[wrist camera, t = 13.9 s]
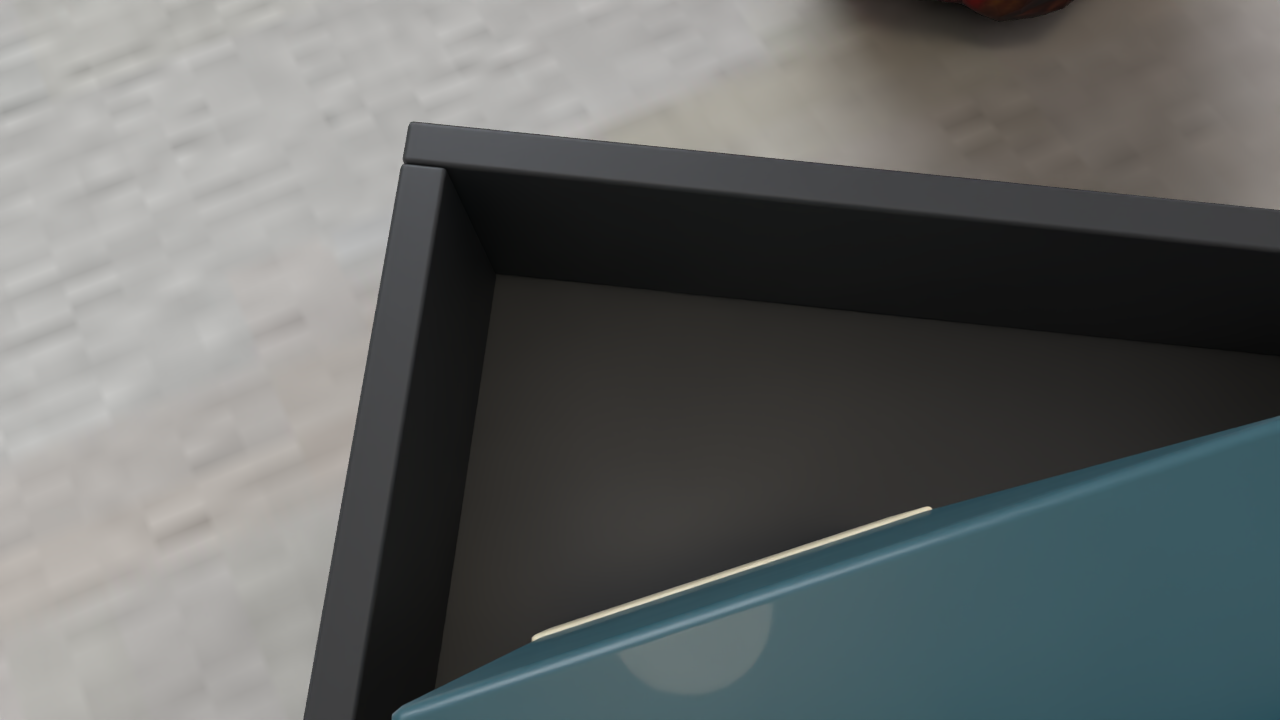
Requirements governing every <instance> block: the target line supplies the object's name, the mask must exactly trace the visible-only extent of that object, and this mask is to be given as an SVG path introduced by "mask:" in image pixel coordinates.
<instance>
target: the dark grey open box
mask: <svg viewBox="0 0 1280 720" xmlns="http://www.w3.org/2000/svg"><path fill="white" fill-rule="evenodd" d="M403 162H404V164H403V165H402V166H401V169H400V175H399V181H398V186H397V192H396V198H395V203H394V209H393V215H392V220H391V226H390V232H389V237H388V243H387V249H386V254H385V260H384V266H383V271H382V277H381V283H380V288H379V294H378V300H377V305H376V311H375V317H374V322H373V328H372V334H371V339H370V345H369V351H368V356H367V362H366V368H365V373H364V379H363V385H362V390H361V396H360V402H359V407H358V413H357V419H356V424H355V430H354V436H353V441H352V447H351V453H350V458H349V464H348V470H347V475H346V481H345V487H344V492H343V498H342V504H341V509H340V515H339V521H338V526H337V532H336V538H335V543H334V549H333V555H332V560H331V566H330V572H329V577H328V583H327V589H326V594H325V600H324V606H323V611H322V617H321V623H320V628H319V634H318V640H317V645H316V651H315V657H314V662H313V668H312V674H311V679H310V685H309V691H308V696H307V702H306V708H305V713H304V719H303V720H392V714H393V713H394V712H395V711H397V710H398V709H399V708H400V707H401V706H402V705H404V704H407V703H409V702H411V701H413V700H415V699H417V698H419V697H421V696H423V695H425V694H427V693H429V692H431V691H433V690H435V689H437V688H439V687H441V686H443V685H445V684H447V683H449V682H451V681H453V680H455V679H457V678H459V677H461V676H463V675H465V674H467V673H470V672H472V671H474V670H476V669H478V668H480V667H482V666H484V665H486V664H488V663H490V662H492V661H494V660H496V659H498V658H500V657H502V656H504V655H506V654H508V653H510V652H512V651H514V650H516V649H518V648H520V647H522V646H524V645H526V644H528V643H530V642H531V641H532V637H533V636H534V635H535V634H538V633H540V632H542V631H544V630H547V629H549V628H552V627H555V626H558V625H561V624H564V623H567V622H570V621H573V620H576V619H579V618H582V617H585V616H588V615H591V614H594V613H597V612H600V611H604V610H607V609H610V608H613V607H616V606H619V605H622V604H625V603H628V602H631V601H634V600H637V599H640V598H643V597H646V596H649V595H652V594H655V593H658V592H662V591H665V590H668V589H671V588H674V587H677V586H680V585H683V584H686V583H689V582H692V581H695V580H698V579H701V578H704V577H707V576H710V575H713V574H716V573H720V572H723V571H726V570H729V569H732V568H735V567H738V566H741V565H744V564H747V563H750V562H753V561H756V560H759V559H762V558H765V557H768V556H771V555H774V554H778V553H781V552H784V551H787V550H790V549H793V548H796V547H799V546H802V545H805V544H808V543H811V542H814V541H817V540H820V539H823V538H826V537H829V536H832V535H836V534H839V533H842V532H845V531H848V530H851V529H854V528H857V527H860V526H863V525H866V524H869V523H872V522H875V521H878V520H881V519H884V518H887V517H891V516H894V515H898V514H901V513H905V512H908V511H912V510H915V509H919V508H922V507H926V506H928V507H931V508H932V509H936V508H939V507H943V506H947V505H950V504H954V503H958V502H961V501H965V500H969V499H973V498H976V497H980V496H984V495H987V494H991V493H995V492H999V491H1002V490H1006V489H1010V488H1013V487H1017V486H1021V485H1024V484H1028V483H1032V482H1036V481H1039V480H1043V479H1047V478H1050V477H1054V476H1058V475H1062V474H1065V473H1069V472H1073V471H1076V470H1080V469H1084V468H1087V467H1091V466H1095V465H1099V464H1102V463H1106V462H1110V461H1113V460H1117V459H1121V458H1125V457H1128V456H1132V455H1136V454H1139V453H1143V452H1147V451H1150V450H1154V449H1158V448H1162V447H1165V446H1169V445H1173V444H1176V443H1180V442H1184V441H1187V440H1191V439H1195V438H1199V437H1202V436H1206V435H1210V434H1213V433H1217V432H1221V431H1225V430H1228V429H1232V428H1236V427H1239V426H1243V425H1247V424H1250V423H1254V422H1258V421H1262V420H1265V419H1269V418H1273V417H1276V416H1280V210H1274V209H1264V208H1254V207H1244V206H1235V205H1225V204H1215V203H1205V202H1195V201H1186V200H1176V199H1166V198H1156V197H1146V196H1137V195H1127V194H1117V193H1107V192H1097V191H1088V190H1078V189H1068V188H1058V187H1049V186H1039V185H1029V184H1019V183H1009V182H1000V181H990V180H980V179H970V178H960V177H951V176H941V175H931V174H921V173H911V172H902V171H892V170H882V169H872V168H862V167H853V166H843V165H833V164H823V163H813V162H804V161H794V160H784V159H774V158H764V157H755V156H745V155H735V154H725V153H716V152H706V151H696V150H686V149H676V148H667V147H657V146H647V145H637V144H627V143H618V142H608V141H598V140H588V139H578V138H569V137H559V136H549V135H539V134H529V133H520V132H510V131H500V130H490V129H480V128H471V127H461V126H451V125H441V124H431V123H422V122H410V124H409V126H408V131H407V137H406V143H405V148H404V154H403Z"/></svg>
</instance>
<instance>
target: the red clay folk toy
mask: <svg viewBox="0 0 1280 720" xmlns="http://www.w3.org/2000/svg"><path fill="white" fill-rule="evenodd" d="M938 1H943V2H950V3H958V4H963V5H965V6H967V7H968V8H970V9H972V10H973V11H975V12H977V13H978V14H980V15H983V16H986V17H988V18H991V19H994V20H996V21H1007V20H1015V19H1023V18H1031V17H1036V16H1040V15H1045V14H1048V13H1051V12H1054V11H1057V10H1060V9H1063V8H1064V7H1065V6H1067V5H1068V4H1069V3H1071V2H1072V1H1073V0H938Z"/></svg>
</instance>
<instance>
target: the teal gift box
mask: <svg viewBox="0 0 1280 720" xmlns="http://www.w3.org/2000/svg"><path fill="white" fill-rule="evenodd" d="M392 720H1280V416H1276V417H1273V418H1269V419H1265V420H1262V421H1258V422H1254V423H1250V424H1247V425H1243V426H1239V427H1236V428H1232V429H1228V430H1225V431H1221V432H1217V433H1213V434H1210V435H1206V436H1202V437H1199V438H1195V439H1191V440H1187V441H1184V442H1180V443H1176V444H1173V445H1169V446H1165V447H1162V448H1158V449H1154V450H1150V451H1147V452H1143V453H1139V454H1136V455H1132V456H1128V457H1125V458H1121V459H1117V460H1113V461H1110V462H1106V463H1102V464H1099V465H1095V466H1091V467H1087V468H1084V469H1080V470H1076V471H1073V472H1069V473H1065V474H1062V475H1058V476H1054V477H1050V478H1047V479H1043V480H1039V481H1036V482H1032V483H1028V484H1024V485H1021V486H1017V487H1013V488H1010V489H1006V490H1002V491H999V492H995V493H991V494H987V495H984V496H980V497H976V498H973V499H969V500H965V501H961V502H958V503H954V504H950V505H947V506H943V507H939V508H936V509H932V508H931V507H928V506H926V507H922V508H919V509H915V510H912V511H908V512H905V513H901V514H898V515H894V516H891V517H887V518H884V519H881V520H878V521H875V522H872V523H869V524H866V525H863V526H860V527H857V528H854V529H851V530H848V531H845V532H842V533H839V534H836V535H832V536H829V537H826V538H823V539H820V540H817V541H814V542H811V543H808V544H805V545H802V546H799V547H796V548H793V549H790V550H787V551H784V552H781V553H778V554H774V555H771V556H768V557H765V558H762V559H759V560H756V561H753V562H750V563H747V564H744V565H741V566H738V567H735V568H732V569H729V570H726V571H723V572H720V573H716V574H713V575H710V576H707V577H704V578H701V579H698V580H695V581H692V582H689V583H686V584H683V585H680V586H677V587H674V588H671V589H668V590H665V591H662V592H658V593H655V594H652V595H649V596H646V597H643V598H640V599H637V600H634V601H631V602H628V603H625V604H622V605H619V606H616V607H613V608H610V609H607V610H604V611H600V612H597V613H594V614H591V615H588V616H585V617H582V618H579V619H576V620H573V621H570V622H567V623H564V624H561V625H558V626H555V627H552V628H549V629H547V630H544V631H542V632H540V633H538V634H535V635H534V636H533V637H532V641H531V642H530V643H528V644H526V645H524V646H522V647H520V648H518V649H516V650H514V651H512V652H510V653H508V654H506V655H504V656H502V657H500V658H498V659H496V660H494V661H492V662H490V663H488V664H486V665H484V666H482V667H480V668H478V669H476V670H474V671H472V672H470V673H467V674H465V675H463V676H461V677H459V678H457V679H455V680H453V681H451V682H449V683H447V684H445V685H443V686H441V687H439V688H437V689H435V690H433V691H431V692H429V693H427V694H425V695H423V696H421V697H419V698H417V699H415V700H413V701H411V702H409V703H407V704H404V705H402V706H401V707H400V708H399V709H398V710H397V711H395V712H394V713H393V714H392Z"/></svg>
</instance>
